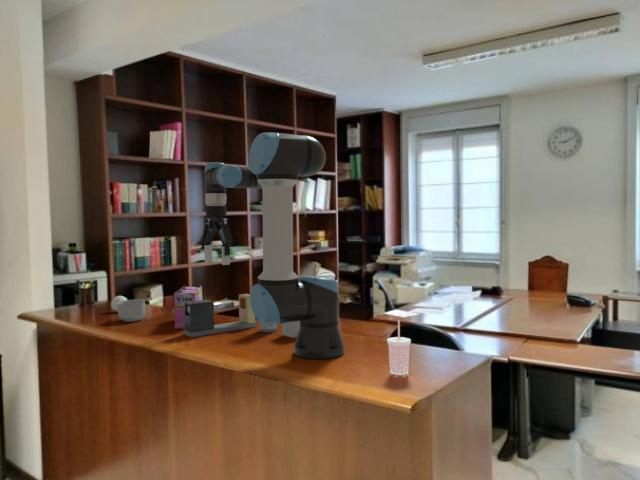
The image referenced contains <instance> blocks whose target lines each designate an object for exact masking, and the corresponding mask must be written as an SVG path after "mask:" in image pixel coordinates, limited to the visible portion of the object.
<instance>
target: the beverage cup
mask: <svg viewBox="0 0 640 480" xmlns="http://www.w3.org/2000/svg"><path fill="white" fill-rule="evenodd" d="M400 323H401V321H400V319H398V320H397V336H394V337H388V338H387V339H386V340H387V341H386V343H387V345H388V357H389V359H388V360H389V374H390V373H391V374H395V375H405V374H408V375H409V366H410V365H409V364H410V348H411V343H412V339H411V338H409V337H404V336H401V333H400V332H401V328H400V327H401V324H400ZM391 374H390V375H391Z"/></svg>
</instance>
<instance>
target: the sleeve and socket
mask: <svg viewBox="0 0 640 480" xmlns="http://www.w3.org/2000/svg"><path fill="white" fill-rule="evenodd" d="M214 303H215V301H214V300H210V299H202V300H201V301H192V302H184V319H185V328H184V330H185V331H188V332H197V331H204V330H210V329H214V325H215V311H214ZM187 306H189V308H190V314H188V313H187ZM238 318H239V319H238V320H239V321H238V322H242V323H245V324H251V323H256V317H255V315H254V313H253V310H252V307H251V302H250V293H242V294H241V293H239V294H238Z"/></svg>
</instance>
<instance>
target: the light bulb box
mask: <svg viewBox="0 0 640 480" xmlns="http://www.w3.org/2000/svg"><path fill="white" fill-rule="evenodd" d="M281 325H282V326H281V327H282V329H281V330H282V336H284V337H288V338H291V339H292V338H293V339H295V338H296V339H297V336H298V333H299V329H300V321H296V322H289V323H282V324H281Z"/></svg>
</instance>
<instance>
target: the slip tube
mask: <svg viewBox="0 0 640 480" xmlns="http://www.w3.org/2000/svg"><path fill="white" fill-rule="evenodd" d="M234 308H235V302H234V301H233V300H227V301H217V302H214V312H217V311H225V310H233V309H234ZM187 313H188V314H190V308H189V306H187Z"/></svg>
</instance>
